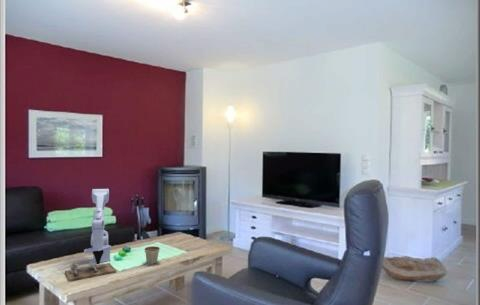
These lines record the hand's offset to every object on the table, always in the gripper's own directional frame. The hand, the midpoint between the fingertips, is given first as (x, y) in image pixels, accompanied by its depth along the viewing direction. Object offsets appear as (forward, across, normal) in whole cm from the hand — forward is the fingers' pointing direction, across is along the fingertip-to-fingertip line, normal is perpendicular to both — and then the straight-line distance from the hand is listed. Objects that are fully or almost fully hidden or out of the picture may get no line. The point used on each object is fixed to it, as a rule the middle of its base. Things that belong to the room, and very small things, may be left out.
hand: (97, 263), depth 201 cm
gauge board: (+3, -4, -3) cm, 6 cm away
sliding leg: (+2, -3, -2) cm, 4 cm away
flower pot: (+4, +30, -5) cm, 31 cm away
